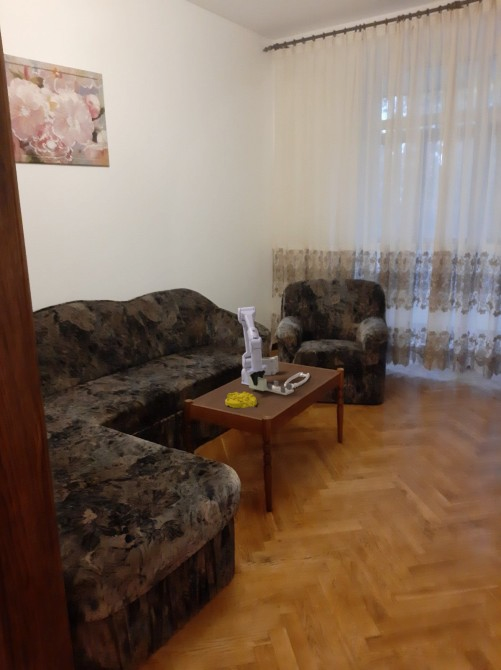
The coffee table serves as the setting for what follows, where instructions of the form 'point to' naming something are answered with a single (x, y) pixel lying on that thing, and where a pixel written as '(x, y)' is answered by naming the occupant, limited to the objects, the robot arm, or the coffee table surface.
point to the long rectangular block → (261, 384)
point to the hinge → (270, 365)
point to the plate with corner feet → (279, 388)
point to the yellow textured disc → (240, 400)
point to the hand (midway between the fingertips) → (257, 384)
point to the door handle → (296, 377)
